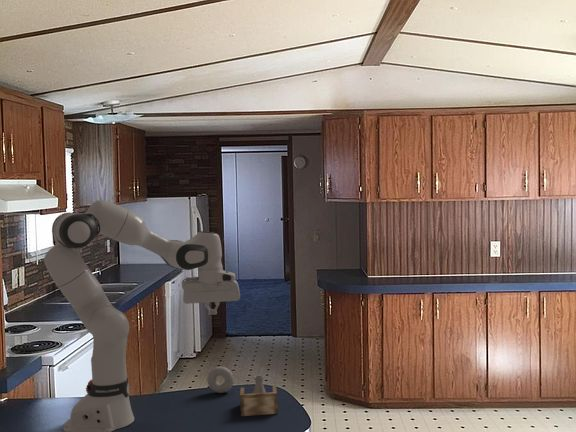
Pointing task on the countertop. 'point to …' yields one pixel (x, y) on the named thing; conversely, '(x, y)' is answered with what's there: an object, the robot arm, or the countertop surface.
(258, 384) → the flask
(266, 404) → the wooden arch bench
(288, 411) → the countertop surface
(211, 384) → the donut
